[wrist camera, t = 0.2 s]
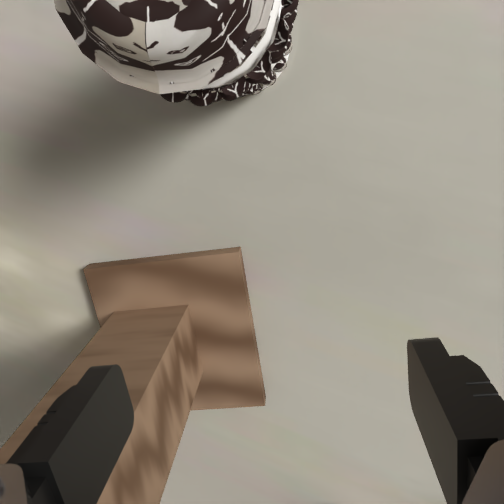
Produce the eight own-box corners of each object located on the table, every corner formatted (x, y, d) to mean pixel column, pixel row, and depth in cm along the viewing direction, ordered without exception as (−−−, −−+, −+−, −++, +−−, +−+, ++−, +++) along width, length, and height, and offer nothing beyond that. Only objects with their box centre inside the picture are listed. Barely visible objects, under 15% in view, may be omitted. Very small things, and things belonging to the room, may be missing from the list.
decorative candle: (290, 105, 38) (283, 122, 15) (186, 95, 39) (19, 98, 15) (303, -15, 35) (320, -238, 11) (189, -24, 35) (-16, -253, 12)
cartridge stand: (265, 396, 49) (215, 927, 18) (131, 405, 51) (-125, 891, 20) (240, 246, 43) (99, 647, 12) (89, 263, 45) (-364, 639, 14)
